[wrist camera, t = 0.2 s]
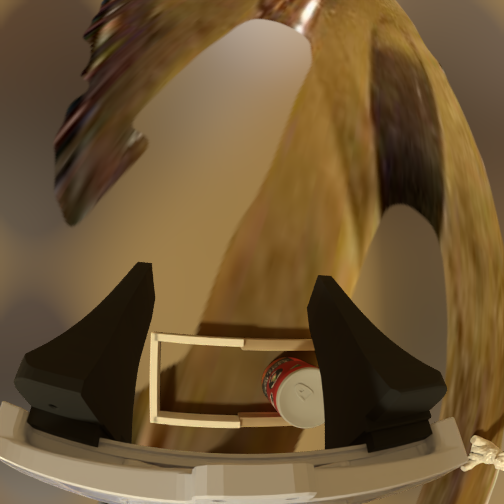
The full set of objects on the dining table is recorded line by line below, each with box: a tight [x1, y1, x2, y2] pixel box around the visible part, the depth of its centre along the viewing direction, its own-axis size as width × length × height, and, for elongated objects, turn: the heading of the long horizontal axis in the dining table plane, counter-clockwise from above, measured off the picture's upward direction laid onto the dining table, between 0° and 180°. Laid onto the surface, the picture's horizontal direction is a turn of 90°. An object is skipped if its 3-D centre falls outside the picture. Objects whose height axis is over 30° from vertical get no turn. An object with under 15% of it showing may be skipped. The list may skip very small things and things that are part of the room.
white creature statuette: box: [461, 435, 504, 471], centre depth 39 cm, size 10×9×12 cm
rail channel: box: [238, 338, 315, 427], centre depth 42 cm, size 13×12×2 cm
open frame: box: [150, 332, 244, 428], centre depth 40 cm, size 13×12×3 cm
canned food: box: [262, 357, 325, 428], centre depth 38 cm, size 8×8×11 cm
